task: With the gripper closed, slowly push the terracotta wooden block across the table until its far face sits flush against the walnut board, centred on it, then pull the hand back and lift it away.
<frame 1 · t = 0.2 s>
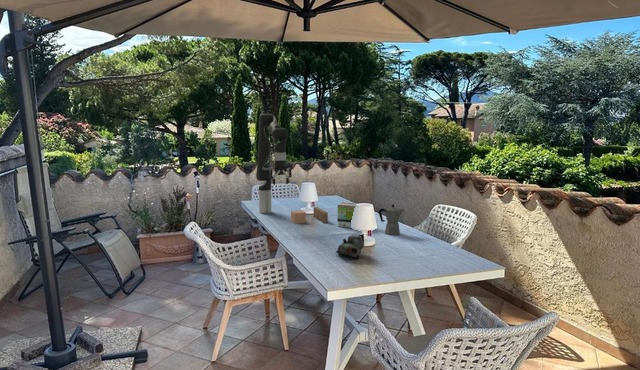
hand: (280, 184, 279), 27 cm above the table, tool pointing down, fingers open, 8 cm apart
tea box: (350, 226, 280), on the table
coffeepot: (390, 233, 261), on the table
walnut board: (320, 219, 298), on the table
terracotta block: (298, 221, 293), on the table
dark binoculars: (350, 256, 219), on the table
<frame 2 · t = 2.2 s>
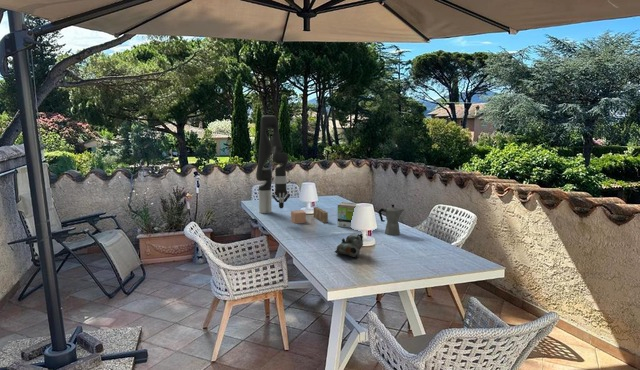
hand: (281, 208, 287), 10 cm above the table, tool pointing down, fingers closed
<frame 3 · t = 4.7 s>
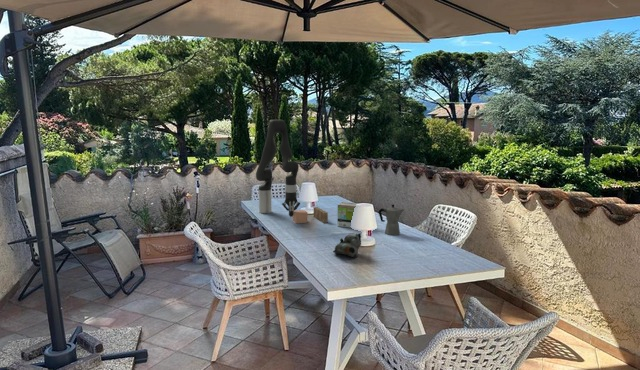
hand: (291, 216, 290), 4 cm above the table, tool pointing down, fingers closed
terracotta block: (300, 221, 293), on the table, touching gripper
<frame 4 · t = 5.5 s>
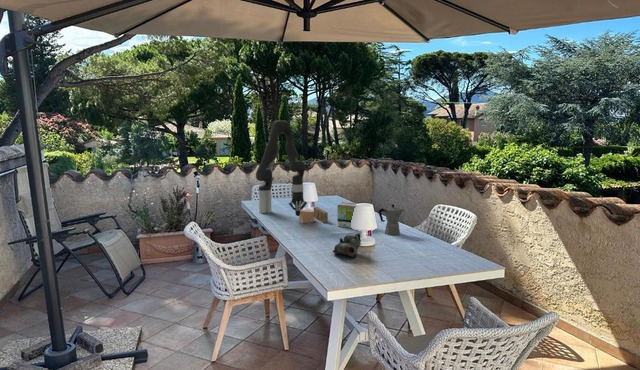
hand: (297, 215, 292), 4 cm above the table, tool pointing down, fingers closed
terracotta block: (306, 220, 295), on the table, touching gripper
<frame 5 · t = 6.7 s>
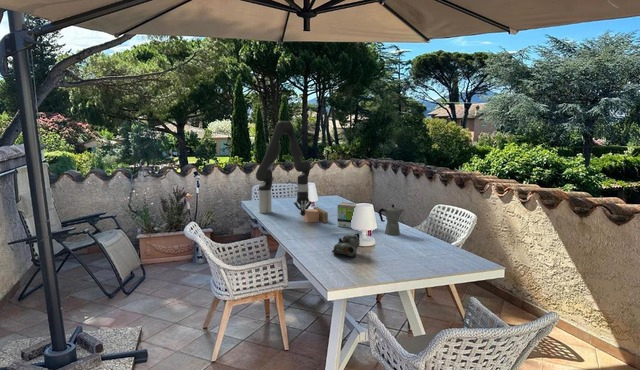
hand: (302, 215, 293), 4 cm above the table, tool pointing down, fingers closed
terracotta block: (311, 220, 296), on the table, touching gripper
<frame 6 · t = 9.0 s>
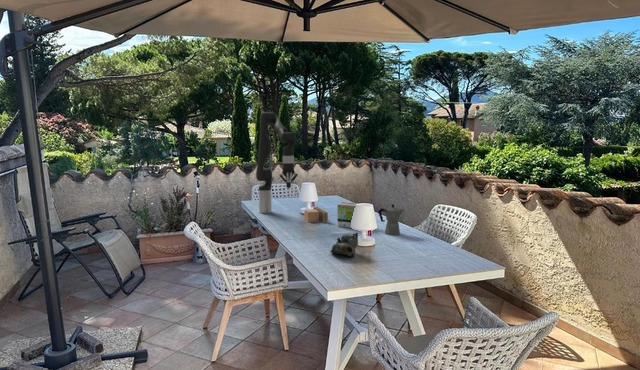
hand: (288, 187, 289), 24 cm above the table, tool pointing down, fingers closed
terracotta block: (311, 220, 296), on the table
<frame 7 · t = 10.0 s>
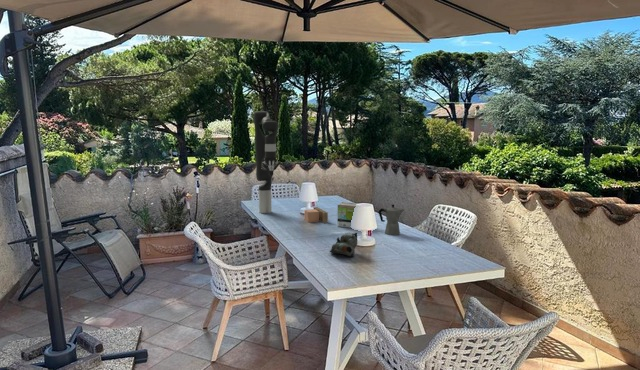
hand: (271, 176, 292), 31 cm above the table, tool pointing down, fingers closed
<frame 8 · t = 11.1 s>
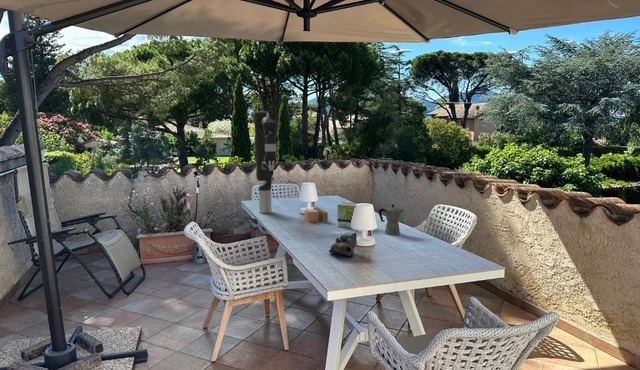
hand: (271, 176, 292), 31 cm above the table, tool pointing down, fingers closed
at the end: terracotta block 0.3 cm from the target spot on the table beside the walnut board, on the table; terracotta block tilted 0° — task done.
